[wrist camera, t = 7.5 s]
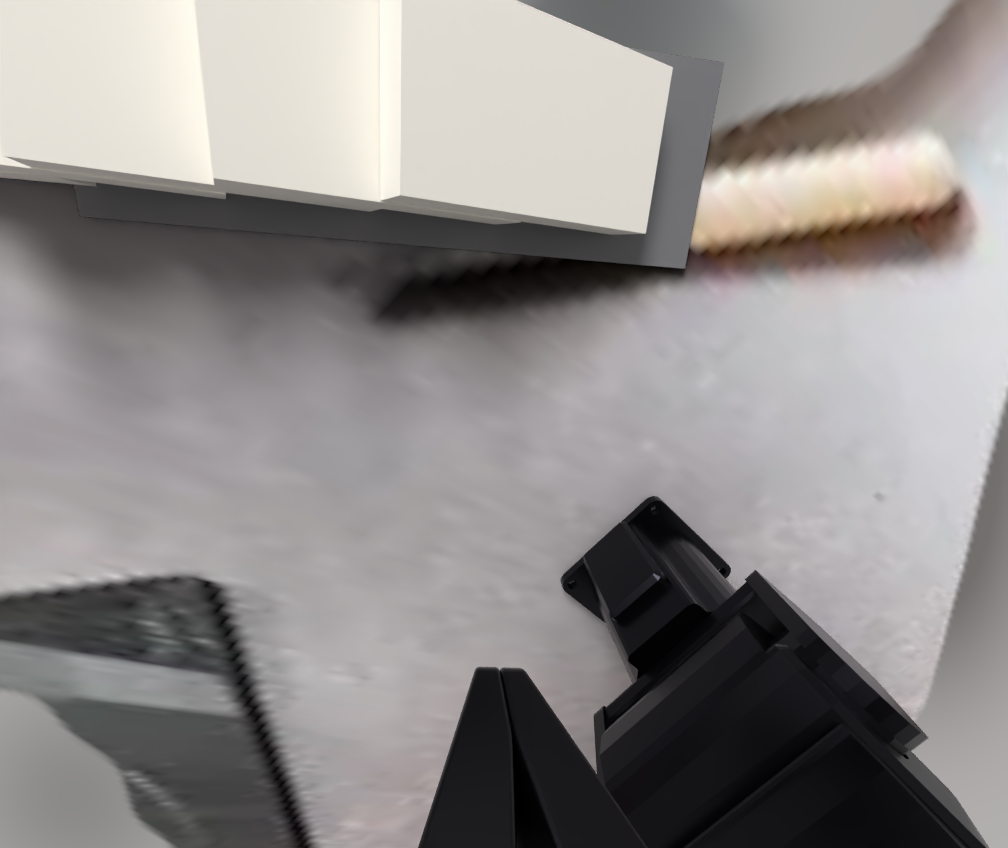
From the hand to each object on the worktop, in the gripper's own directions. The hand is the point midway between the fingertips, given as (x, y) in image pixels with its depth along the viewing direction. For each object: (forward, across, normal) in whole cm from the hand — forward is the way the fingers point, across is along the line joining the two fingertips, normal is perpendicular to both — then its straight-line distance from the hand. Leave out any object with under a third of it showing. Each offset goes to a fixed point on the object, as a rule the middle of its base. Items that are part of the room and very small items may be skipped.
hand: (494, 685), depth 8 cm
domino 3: (+12, -5, -11) cm, 17 cm away
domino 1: (+12, +4, -11) cm, 16 cm away
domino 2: (+12, 0, -11) cm, 16 cm away
